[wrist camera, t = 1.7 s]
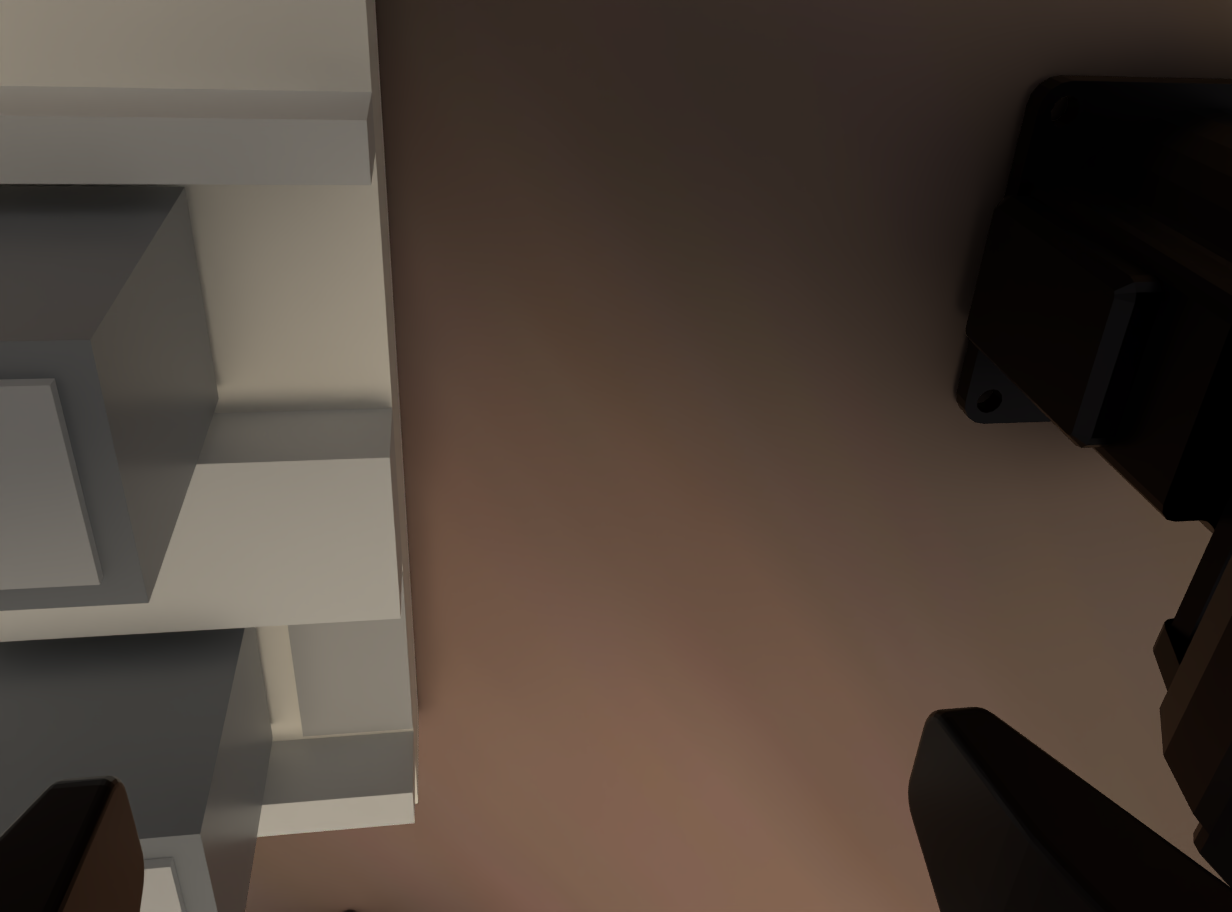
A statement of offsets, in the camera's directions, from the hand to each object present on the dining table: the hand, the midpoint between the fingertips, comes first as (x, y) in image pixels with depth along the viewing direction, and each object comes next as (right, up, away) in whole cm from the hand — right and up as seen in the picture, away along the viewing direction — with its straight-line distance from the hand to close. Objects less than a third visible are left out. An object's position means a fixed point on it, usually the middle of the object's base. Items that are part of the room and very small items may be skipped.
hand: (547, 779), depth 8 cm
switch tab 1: (-7, +5, +7) cm, 11 cm away
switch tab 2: (-8, -1, +10) cm, 13 cm away
